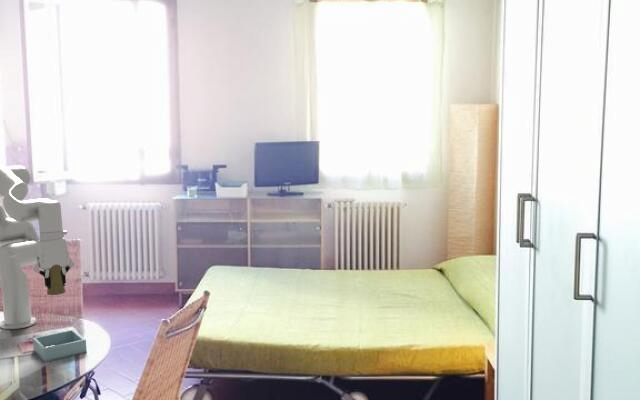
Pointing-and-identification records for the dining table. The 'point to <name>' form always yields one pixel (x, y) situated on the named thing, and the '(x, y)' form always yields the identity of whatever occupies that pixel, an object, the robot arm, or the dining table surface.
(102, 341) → the dining table surface
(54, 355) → the bin
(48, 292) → the cork
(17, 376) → the dining table surface
